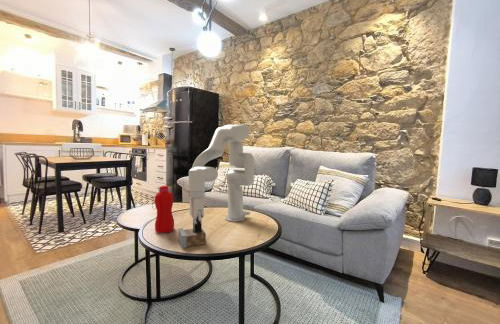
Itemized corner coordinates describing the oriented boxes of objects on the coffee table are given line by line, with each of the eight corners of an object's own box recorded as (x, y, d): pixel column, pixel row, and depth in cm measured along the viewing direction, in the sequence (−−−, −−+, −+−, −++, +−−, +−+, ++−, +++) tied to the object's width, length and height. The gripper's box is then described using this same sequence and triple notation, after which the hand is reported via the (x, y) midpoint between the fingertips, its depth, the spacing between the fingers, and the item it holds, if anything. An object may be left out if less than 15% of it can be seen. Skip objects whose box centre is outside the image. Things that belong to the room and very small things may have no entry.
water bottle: (155, 227, 133) (154, 184, 131) (175, 227, 134) (174, 184, 132) (150, 234, 124) (148, 187, 122) (171, 233, 125) (170, 187, 123)
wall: (182, 239, 117) (182, 228, 117) (186, 247, 108) (186, 235, 108) (178, 240, 116) (178, 228, 116) (182, 248, 107) (182, 236, 107)
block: (201, 236, 121) (201, 227, 120) (205, 243, 113) (205, 233, 112) (183, 239, 117) (183, 229, 116) (186, 246, 109) (186, 236, 108)
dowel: (199, 233, 117) (199, 214, 116) (201, 236, 114) (200, 216, 114) (193, 234, 116) (193, 215, 115) (194, 237, 113) (194, 217, 112)
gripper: (185, 191, 119) (186, 226, 121) (192, 198, 104) (193, 238, 106) (200, 190, 122) (200, 224, 124) (209, 196, 108) (209, 235, 109)
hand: (197, 230), depth 115 cm, fingers closed on dowel, 2 cm apart
